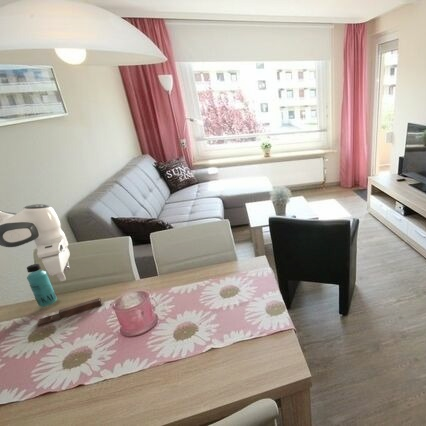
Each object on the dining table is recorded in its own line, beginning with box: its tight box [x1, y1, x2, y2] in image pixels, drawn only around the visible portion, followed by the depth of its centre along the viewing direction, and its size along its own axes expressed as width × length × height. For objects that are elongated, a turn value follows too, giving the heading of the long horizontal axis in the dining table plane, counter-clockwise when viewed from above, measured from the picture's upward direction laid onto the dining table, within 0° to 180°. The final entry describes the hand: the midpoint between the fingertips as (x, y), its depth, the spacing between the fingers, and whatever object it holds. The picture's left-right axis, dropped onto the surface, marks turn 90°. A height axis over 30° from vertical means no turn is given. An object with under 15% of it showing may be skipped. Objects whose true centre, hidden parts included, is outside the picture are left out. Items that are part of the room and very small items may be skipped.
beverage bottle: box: [26, 263, 58, 308], centre depth 126 cm, size 6×7×20 cm
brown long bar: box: [36, 297, 103, 327], centre depth 122 cm, size 21×4×3 cm, turn 123°
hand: (65, 275), depth 118 cm, fingers open, 8 cm apart
